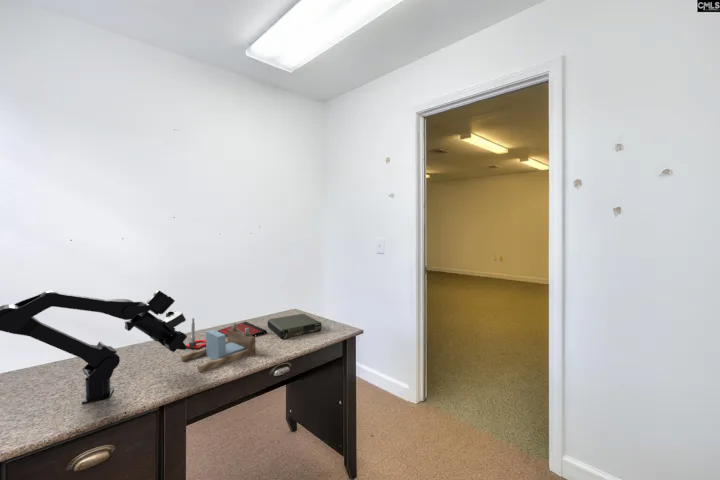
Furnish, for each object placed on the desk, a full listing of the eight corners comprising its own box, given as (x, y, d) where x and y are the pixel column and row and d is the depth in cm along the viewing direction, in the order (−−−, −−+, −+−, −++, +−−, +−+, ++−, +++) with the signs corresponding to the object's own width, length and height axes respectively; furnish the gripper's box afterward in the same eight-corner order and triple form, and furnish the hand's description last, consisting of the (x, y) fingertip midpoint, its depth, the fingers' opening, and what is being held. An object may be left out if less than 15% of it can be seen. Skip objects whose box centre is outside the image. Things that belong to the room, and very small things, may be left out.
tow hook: (197, 341, 140) (182, 348, 131) (197, 313, 141) (183, 318, 131) (213, 342, 139) (200, 349, 130) (214, 314, 139) (200, 319, 130)
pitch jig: (201, 373, 109) (200, 345, 108) (180, 359, 120) (179, 334, 119) (255, 353, 126) (255, 329, 125) (232, 343, 137) (232, 321, 136)
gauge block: (218, 362, 118) (218, 336, 117) (206, 355, 124) (205, 331, 124) (244, 353, 126) (244, 329, 126) (232, 347, 132) (231, 324, 132)
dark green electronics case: (284, 342, 140) (284, 331, 140) (261, 329, 157) (261, 320, 157) (325, 330, 156) (325, 320, 155) (301, 320, 173) (301, 311, 173)
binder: (246, 321, 164) (267, 329, 150) (246, 325, 165) (267, 334, 150) (215, 329, 153) (235, 339, 138) (216, 333, 153) (235, 344, 139)
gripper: (180, 310, 103) (213, 334, 111) (159, 302, 114) (191, 324, 123) (153, 339, 97) (190, 363, 105) (134, 327, 108) (169, 349, 117)
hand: (185, 348), depth 113 cm, fingers closed
